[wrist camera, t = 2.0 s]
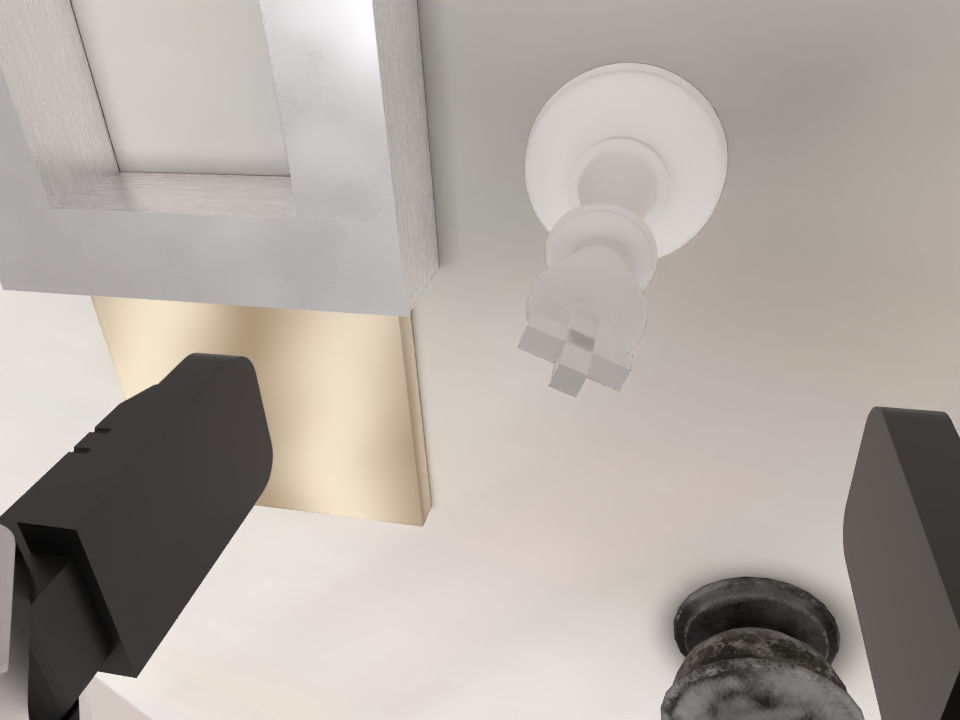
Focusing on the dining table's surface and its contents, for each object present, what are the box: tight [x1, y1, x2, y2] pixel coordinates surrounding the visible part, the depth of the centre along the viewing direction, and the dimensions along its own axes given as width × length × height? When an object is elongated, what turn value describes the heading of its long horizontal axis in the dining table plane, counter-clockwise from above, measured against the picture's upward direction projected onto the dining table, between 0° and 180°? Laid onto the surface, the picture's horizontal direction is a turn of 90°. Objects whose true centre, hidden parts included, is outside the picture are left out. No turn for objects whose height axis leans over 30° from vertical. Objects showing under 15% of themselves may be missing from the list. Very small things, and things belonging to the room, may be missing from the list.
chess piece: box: [518, 63, 728, 397], centre depth 16 cm, size 5×5×10 cm
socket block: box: [0, 0, 439, 317], centre depth 20 cm, size 12×12×3 cm
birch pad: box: [91, 296, 431, 527], centre depth 26 cm, size 10×8×1 cm
